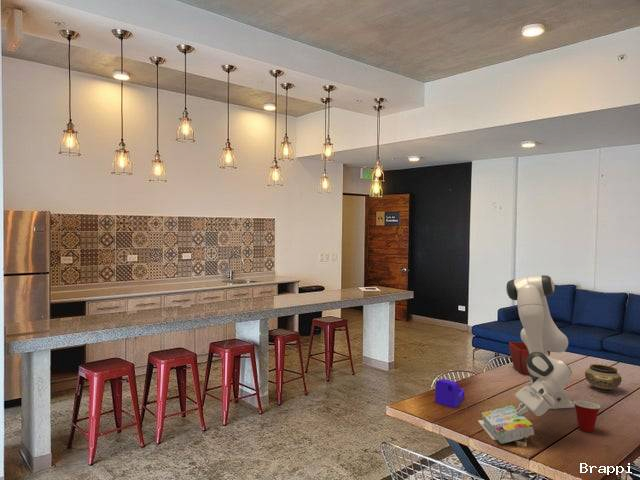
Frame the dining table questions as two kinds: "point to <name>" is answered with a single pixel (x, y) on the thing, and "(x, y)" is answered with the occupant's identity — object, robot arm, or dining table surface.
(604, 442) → the dining table surface
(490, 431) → the mat
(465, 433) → the dining table surface
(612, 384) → the ceramic bowl
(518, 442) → the tear bar
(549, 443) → the dining table surface
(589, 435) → the dining table surface
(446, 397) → the bracket
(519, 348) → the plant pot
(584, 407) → the plastic cup
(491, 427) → the snack box
